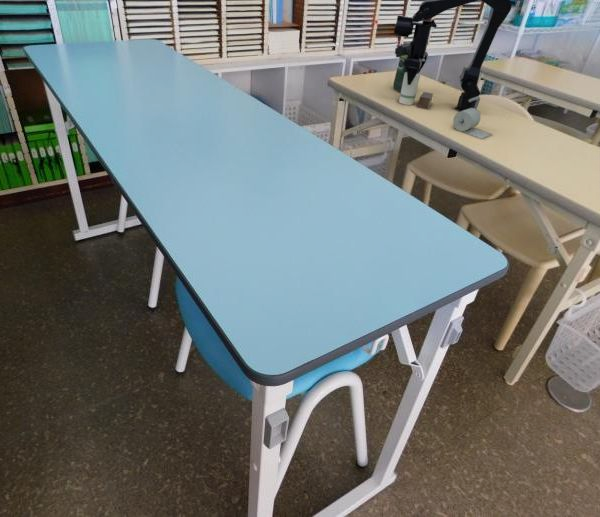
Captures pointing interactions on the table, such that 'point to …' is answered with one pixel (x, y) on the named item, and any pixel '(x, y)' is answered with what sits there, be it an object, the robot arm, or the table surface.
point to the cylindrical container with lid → (409, 90)
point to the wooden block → (425, 100)
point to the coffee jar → (400, 72)
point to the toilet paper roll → (469, 120)
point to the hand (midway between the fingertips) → (411, 82)
